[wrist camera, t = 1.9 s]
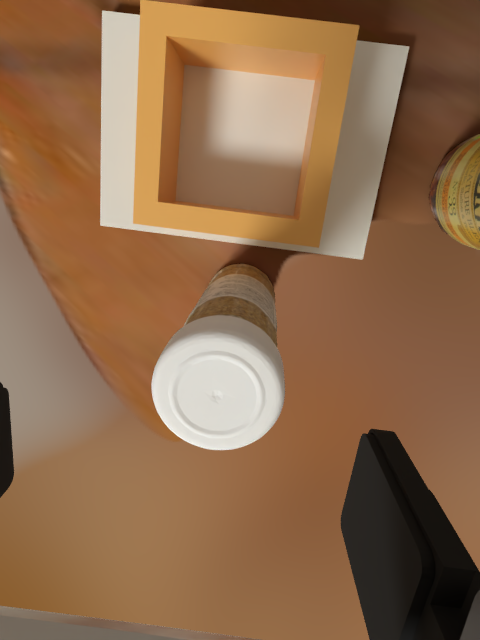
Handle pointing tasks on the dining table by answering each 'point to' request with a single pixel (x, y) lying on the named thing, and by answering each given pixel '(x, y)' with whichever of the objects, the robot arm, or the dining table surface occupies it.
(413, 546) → the robot arm
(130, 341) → the dining table surface
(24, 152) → the dining table surface
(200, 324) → the sprinkles bottle
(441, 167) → the sauce bottle
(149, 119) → the socket base
